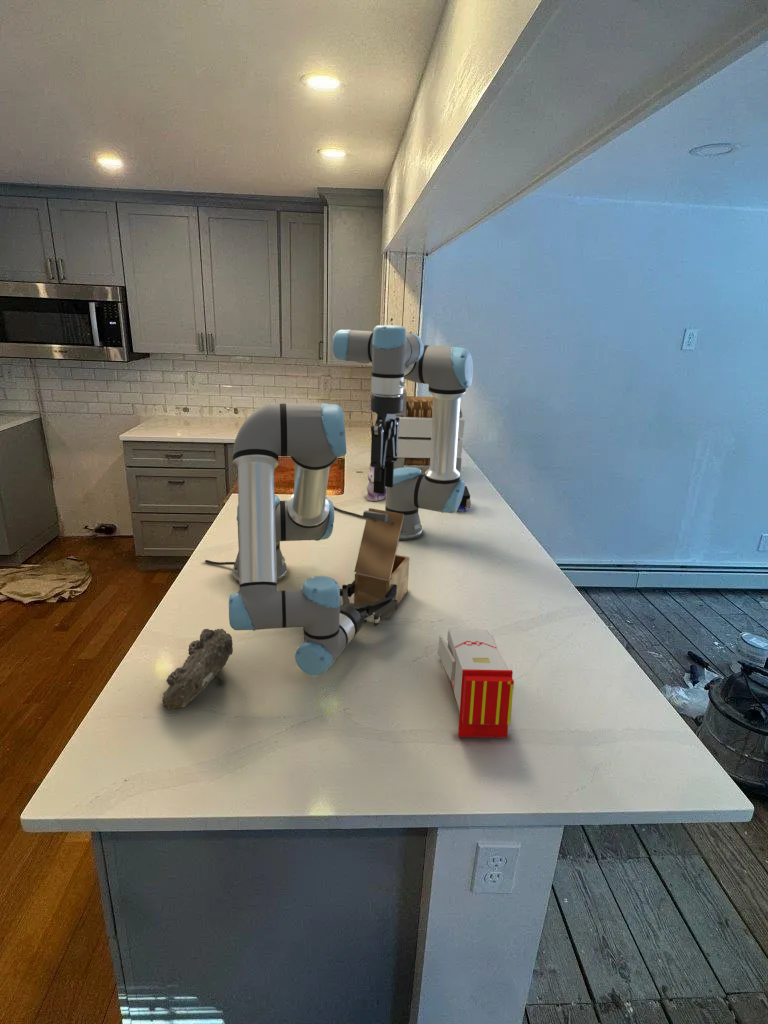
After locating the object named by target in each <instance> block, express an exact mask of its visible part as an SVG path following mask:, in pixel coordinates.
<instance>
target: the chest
mask: <svg viewBox="0 0 768 1024" xmlns="http://www.w3.org/2000/svg"><path fill="white" fill-rule="evenodd" d="M410 559H411V558H410V556H406V555H402V554H397V553H396V555H395V560H394V564H393V569H392V573H391V578H390V579H385V578H380V577H376V576H371V575H366V574H361V573H357V572H354V580H355V586H354V594H353V604H356V605H363V604H366V603H368V604H371V603H373V602H376V601H379V600H381V599H384V598H385V595H386V594H387V593H388V591H389V590H390V589H391V588H392V587H393V585H394V584H395V585H397V594H396V600H398V605H399V603H401V601H402V599H404V597H405V596H406V594H407V593H408V591H409V575H410V574H409V573H410ZM390 616H391V615H389V616H388V617H386V618H385V619H389V617H390Z"/></svg>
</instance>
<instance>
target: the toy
mask: <svg viewBox="0 0 768 1024" xmlns="http://www.w3.org/2000/svg"><path fill="white" fill-rule="evenodd" d="M446 640H447V643H446V641H445V639H444V636H443V635H442V634H439V637H438V646H437V656H438V657H439V659H440V661H441V663H442V666H443V668H444V670H445V672H446V674H447V677H448V679H449V681H450V684H451V687H452V690H453V693H454V697H455V701H456V705H457V708H458V711H459V714H458V715H459V716H458V730H457V731H458V732H457V737H458V738H508V731H509V726H510V725H511V717H512V707H513V697H514V696H513V695H514V684H515V680H514V679H513V673H514V671H513V670H512V669H508V667H507V665H506V662H505V661H504V659H503V658H502V655H501V653H500V651H499V649H498V647H497V643H496V639H495V637H494V635H493V634H491V632H490V631H489V629H467V628H466V629H465V628H463V629H461V628H460V629H459V628H448V630H447V639H446Z"/></svg>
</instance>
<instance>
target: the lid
mask: <svg viewBox="0 0 768 1024" xmlns="http://www.w3.org/2000/svg"><path fill="white" fill-rule="evenodd" d="M362 516H363V518H362V519H365V524H364V528H363V533H362V537H361V540H360V545H359V550H358V554H357V558H356V563H355V567H354V571H353V572H354V573H356V572H357V573H361V574H366V575H371V576H376V577H380V578H385V579H390V578H391V573H392V569H393V564H394V560H395V555H396V554H397V551H398V550H397V549H398V547H399V542H400V540H399V537H400V532H401V528H402V523H403V519H404V514H401V513H395V512H389V511H385V510H383V509H377V508H371V507H370V508H368V510H364V511H363V513H362Z"/></svg>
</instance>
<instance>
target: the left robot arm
mask: <svg viewBox="0 0 768 1024" xmlns="http://www.w3.org/2000/svg"><path fill="white" fill-rule="evenodd" d="M346 440H347V439H346V428H345V417H344V410H343V408H342V406H340V405H339V404H334V403H333V404H332V403H326V402H323V403H322V402H321V403H280V402H272V403H268V404H264V405H262V406H260V407H258V408H257V409H256V410H254V411H253V412H252V413H251V414H249V416H248V417H247V418H246V419H245V420H244V422H243V423H242V425H241V427H240V428H239V430H238V431H237V435H236V437H235V439H234V443H233V448H232V466H233V467H234V468H235V469H237V504H238V505H237V507H236V522H237V542H238V551H237V554H236V558H235V561H220V562H219V561H214V560H213V561H212V560H208V559H205V560H204V563H206V564H210V565H215V566H226V565H227V566H230V565H231V566H233V570H232V574H233V578H234V580H235V581H237V582H238V584H239V586H238V591H237V592H233V593H231V594H229V597H228V621H229V626H230V628H231V629H233V631H253V632H255V631H258V630H269V629H270V630H272V629H287V628H302V633H303V635H302V636H303V640H302V642H301V643H300V644H299V645H298V647H297V648H296V651H295V653H294V660H295V663H296V666H297V667H298V669H299V670H300V671H301V672H302V673H304V674H306V675H307V676H312V677H318V676H322V675H324V674H325V673H326V672H327V670H328V669H330V668H332V666H333V665H334V663H335V662H336V660H337V659H338V658H339V657H340V655H341V654H342V652H344V650H345V648H347V646H348V645H349V644H350V642H351V641H352V640H353V639H354V638H355V636H356V635H358V633H359V632H360V630H361V629H362V627H363V625H364V624H366V623H368V622H370V623H373V626H375V627H378V626H379V625H380V623H381V622H382V621H383V620H385V619H387V618H386V617H388V616H389V615H390V616H391V615H392V614H394V613H395V612H396V611H397V610H398V605H399V604H398V600H396V594H397V585H395V584H394V585H393V587H392V588H391V589H390V590H389V591H388V593H387V594H386V595H385V598H384V599H381V600H379V601H376V602H373V603H371V604H368V603H366V604H363V605H356V604H354V602H350V598H351V597H352V596H354V586H355V579H354V580H353V581H352V582H351V583H348V584H342V585H341V588H340V584H339V582H338V581H336V580H335V579H334V578H332V577H330V576H323V575H319V576H318V575H317V576H314V577H310V578H307V579H306V580H305V581H304V582H303V585H302V589H286V590H278V582H279V581H281V580H283V579H284V578H285V577H286V576H287V573H288V570H287V568H288V567H287V563H286V558H285V556H283V553H282V550H281V542H295V541H296V542H297V541H299V542H300V541H315V542H316V541H321V540H322V541H323V540H327V539H329V538H330V537H331V536H332V534H333V530H334V523H335V509H334V507H335V506H334V504H333V501H332V500H330V499H328V498H327V491H328V484H329V477H330V476H329V475H330V468H331V466H332V465H333V464H334V463H335V462H336V461H337V459H338V458H341V457H345V456H346V455H347V441H346ZM279 457H282V458H283V457H285V458H287V457H290V459H291V461H293V463H294V473H293V474H294V475H293V476H294V477H293V494H292V495H291V497H289V499H287V500H286V499H285V500H280V497H279V496H278V495H277V494H275V470H276V468H277V467H278V466H279ZM333 506H334V507H333ZM341 599H342V604H341ZM390 616H389V617H390ZM389 617H388V618H389Z"/></svg>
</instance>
